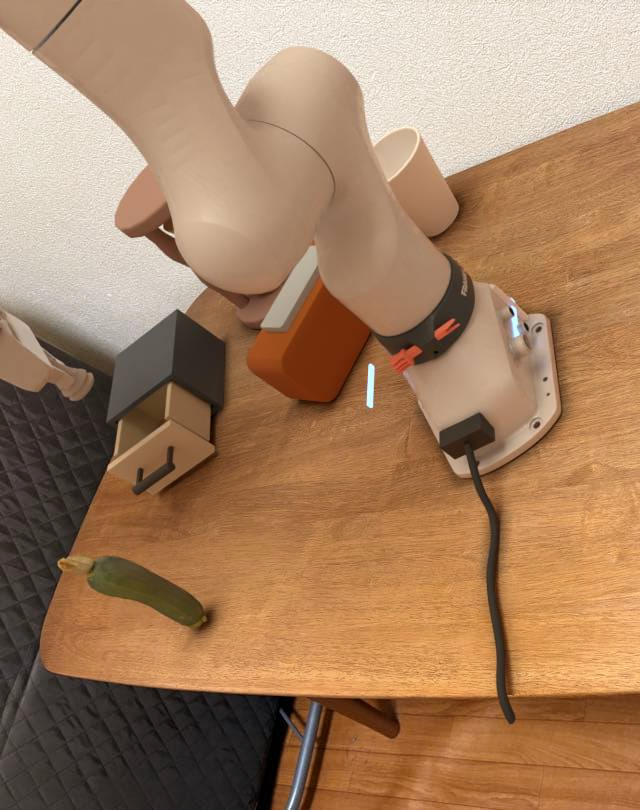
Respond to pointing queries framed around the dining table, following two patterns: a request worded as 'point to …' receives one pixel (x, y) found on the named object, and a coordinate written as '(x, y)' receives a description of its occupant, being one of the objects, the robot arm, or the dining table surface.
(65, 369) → the rook chess piece
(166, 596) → the vegetable
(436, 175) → the cup
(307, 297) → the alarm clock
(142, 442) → the drawer
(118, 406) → the cabinet
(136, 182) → the hourglass
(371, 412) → the dining table surface
